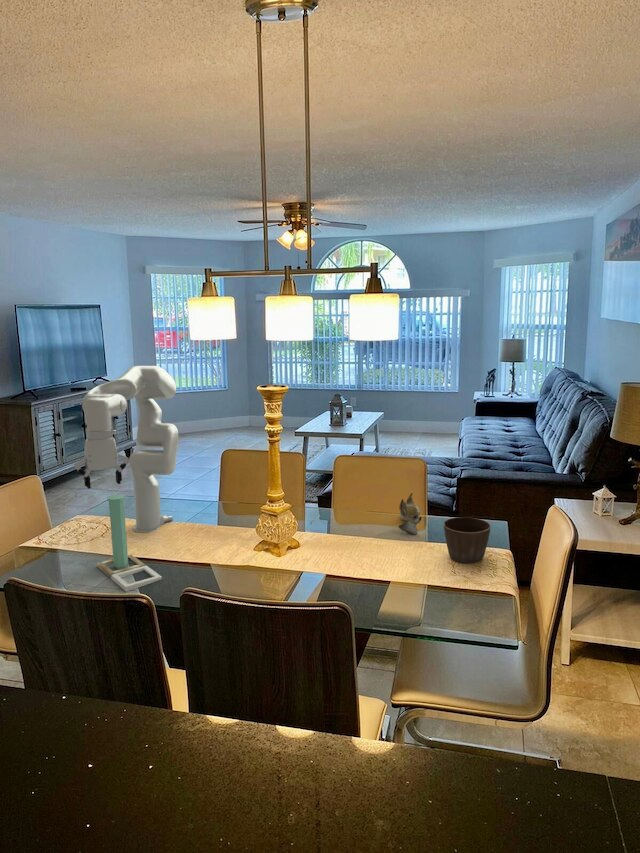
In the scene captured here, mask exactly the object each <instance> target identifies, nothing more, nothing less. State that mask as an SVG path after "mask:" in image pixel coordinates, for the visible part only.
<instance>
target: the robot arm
mask: <svg viewBox="0 0 640 853" xmlns="http://www.w3.org/2000/svg"><path fill="white" fill-rule="evenodd" d="M176 393H177V384H176V381H175V379H174V377H172V375H170V374H169V373H168V372H167V371H166V370H165V369H164V368H163V367H161V366H160V365H134V366H131V367H129V368H128V369H127V370H126V371H125V372H124V373H123V374H121V376H119V377H118V378H116V379H114V380H111V381H108V382H105V383H102V384H99V385H97V386H95V387H93V388H91V389H90V391H88V392H87V393H86V394H85V395H84V397H83V399H82V402H81V407H82V408H81V409H82V411H83V412H84V414H85V417H86V418H85V419H86V432H87V438H86V439H85V441H84V453H83V454H84V457H83V458H82V459H80V460H78V461H77V462H75V463H74V465H73V466H74V467H75V469H76V470H77V472H78V473H79V474H81V475H82V476H83V482H84V486H85V487H86V489H91V488H92V486H91V476H89V475H90V473H91V472H92V471H100V470H106V469H107V470H108V469H115V470H116V471H115V482H116V483H117V485H121V483H122V481H123V477H122V476H123V475H122V472H123V471H124V469H125V468H126V467H127V464H128V462H129V464H128V465H129V469H130V472H131V477H132V484H133V485H132V486H133V496H134V497H133V498H134V509H135V510H134V512H135V514H134V515H135V524H134V525H133V526H132V531H133V532H136V533H151V532H156V531H158V530H159V529H160V527H161V526H163V525H165V523H166V522H171V521H173V520H174V517H173V515H162V514H161V513H162V512H161V498H160V484H159V481H158V479H157V478H156V477H155V476H170V475H172V474H173V473H174V472H175V470H176V465H177V457H178V449H179V441H180V440H179V438H180V436H179V435H180V434H179V431H178V428H177V426H176V425H175V424H173V423H170V422H169V423H168V422H162V417H163V416H162V415H163V411H162V409H161V407H160V405H159V404H158V403H157V402H156V400H169V399H173V397H175V395H176ZM132 399H135V402H136V404H137V405H138V409H139V415H138V416H139V417H138V423H137V424H138V425H137V431H136V441H137V444H138V445H139V446H140V447H144V448H159V449H139V450H136V451H133V452H132V453H131V454H130V456H129V457H128V456H126V455H125V456H124V455H122V454H119V453H118V449H117V443H116V440H115V437H114V435H115V434H116V435H117V430H116V429H113V428H112V417H119V416H122V415H123V414H124V413H125V412H126V410H127V408H128V402H127V401H130V400H132ZM160 448H162V450H161V449H160ZM119 459H120V460H122V463H121V464H120V463H119ZM119 464H120V465H119ZM83 465H84V466H85V467H84V468H85V469H82V468H81V466H83Z"/></svg>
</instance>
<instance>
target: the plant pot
mask: <svg viewBox="0 0 640 853" xmlns="http://www.w3.org/2000/svg"><path fill="white" fill-rule="evenodd" d="M491 528H492V524H490V522H488V521H486V520H485V519H480V518H476V517H468V516H467V517H466V516H464V517H463V516H461V517H458V516H457V517H453V518H452V517H451V518H448V519H446V520H445V521H444V522H443V529H444V531H443V532H444V537H445V542H446V548H447V550H448V551H447V552H448V555H449V558H450V559H451V560H452V561H453V562H456V563H458V564H462V565H463V564H464V565H466V564H467V565H469V564H470V565H472V564H476V563H479V562H481V561H482V560H484V556H485V553H486V550H487V547H488V543H489V540H490V538H489V537H490V532H491Z"/></svg>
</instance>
